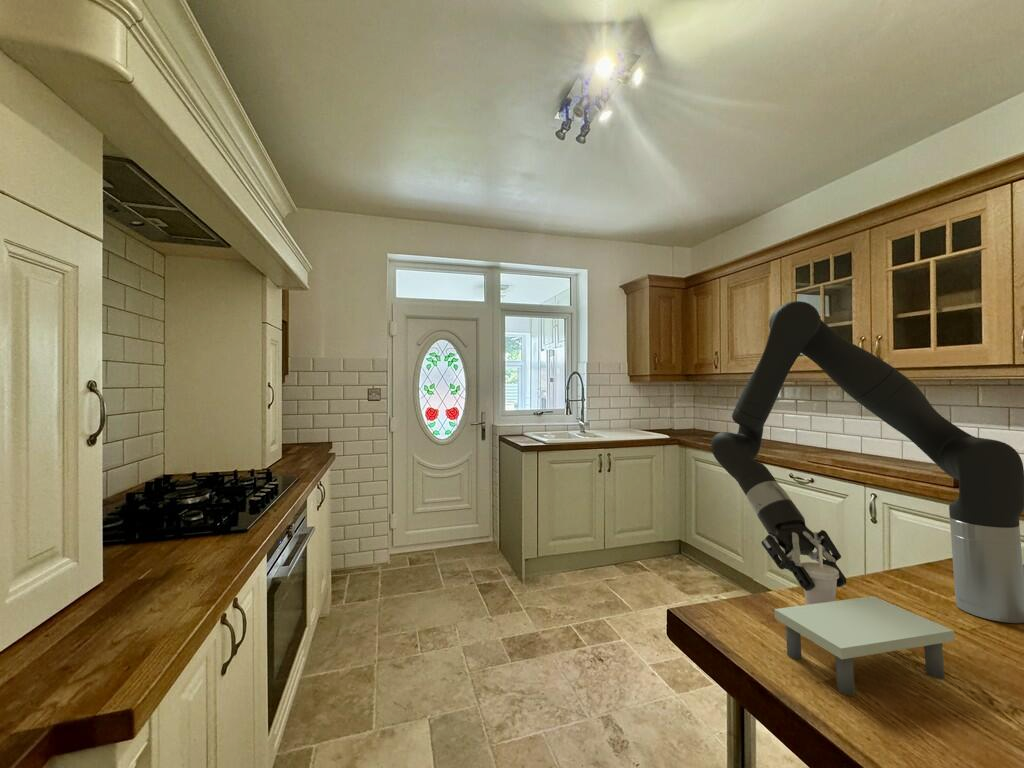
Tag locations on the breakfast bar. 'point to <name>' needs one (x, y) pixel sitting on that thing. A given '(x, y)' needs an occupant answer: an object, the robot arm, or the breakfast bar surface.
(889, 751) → the breakfast bar surface
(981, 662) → the breakfast bar surface
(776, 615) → the small table
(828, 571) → the smoothie
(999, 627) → the breakfast bar surface
